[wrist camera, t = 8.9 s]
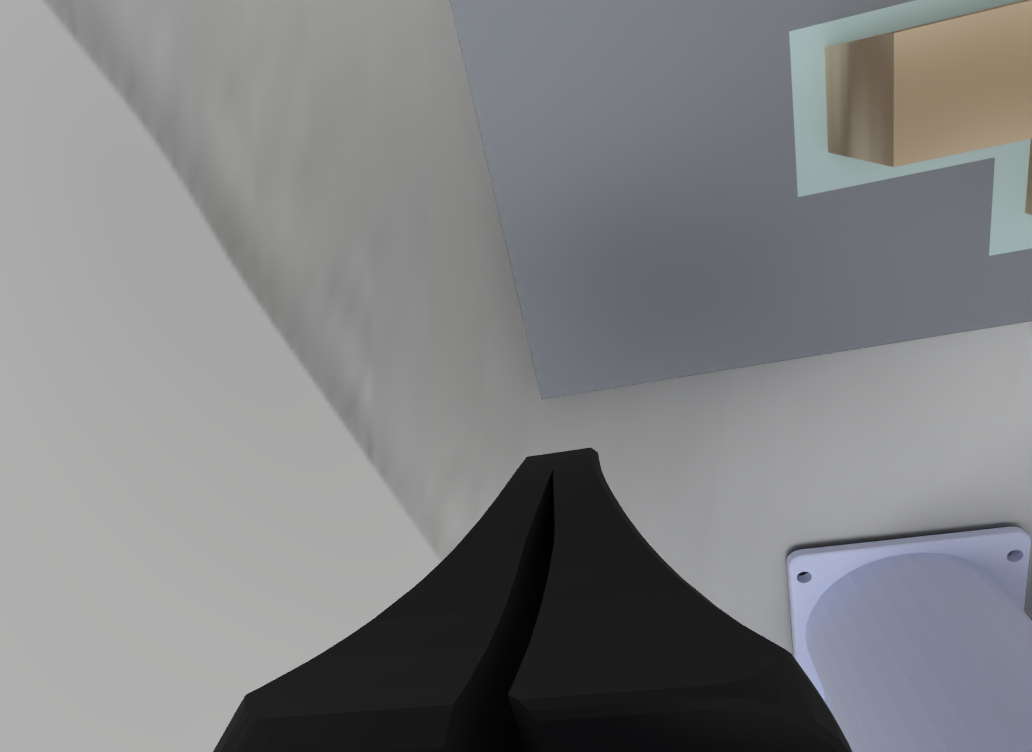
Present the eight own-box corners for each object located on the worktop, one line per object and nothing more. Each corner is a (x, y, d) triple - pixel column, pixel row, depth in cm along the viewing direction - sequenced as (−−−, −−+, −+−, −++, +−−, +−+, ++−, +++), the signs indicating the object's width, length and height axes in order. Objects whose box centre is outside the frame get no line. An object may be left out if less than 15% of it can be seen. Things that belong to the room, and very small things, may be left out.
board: (1176, 283, 19) (1206, 292, 18) (543, 386, 22) (541, 399, 21) (1300, -416, 13) (1354, -454, 12) (425, -134, 16) (416, -148, 15)
